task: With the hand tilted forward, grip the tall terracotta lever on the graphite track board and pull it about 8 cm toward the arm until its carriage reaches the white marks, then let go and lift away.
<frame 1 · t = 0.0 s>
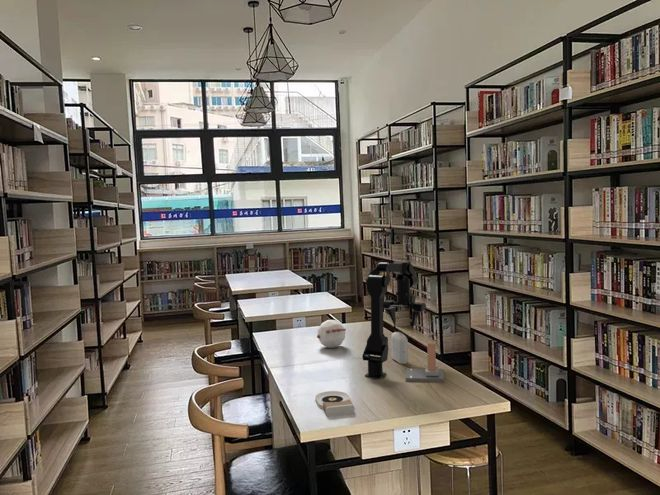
hand: (404, 324, 234), 15 cm above the table, tool pointing down, fingers open, 9 cm apart
white piece: (330, 347, 258), on the table
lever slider: (431, 357, 207), point 8 cm above the table, slide at 0.0 cm
track board: (424, 376, 208), on the table
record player: (334, 405, 182), on the table
photo printer: (399, 361, 231), on the table
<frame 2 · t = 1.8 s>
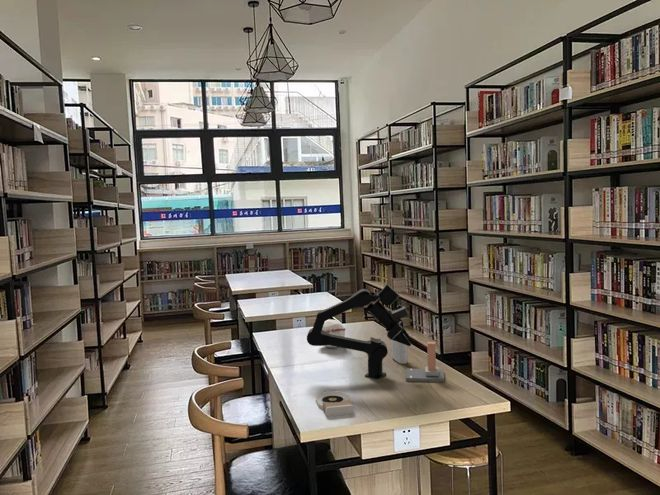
hand: (410, 342, 209), 13 cm above the table, tool tilted 45°, fingers open, 9 cm apart
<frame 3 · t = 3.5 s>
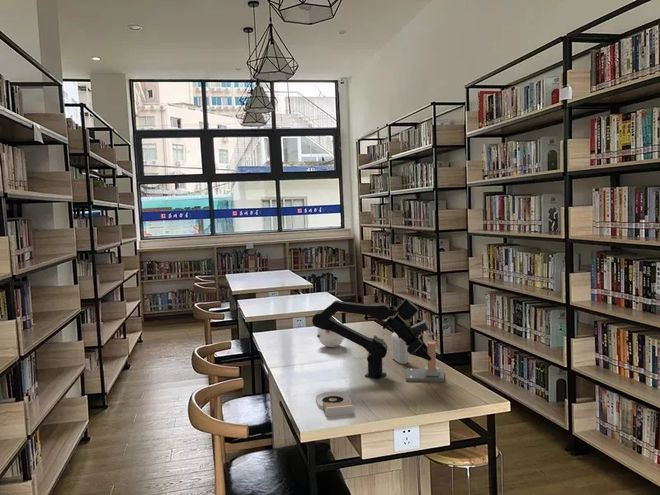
hand: (430, 356, 207), 8 cm above the table, tool tilted 45°, fingers open, 9 cm apart
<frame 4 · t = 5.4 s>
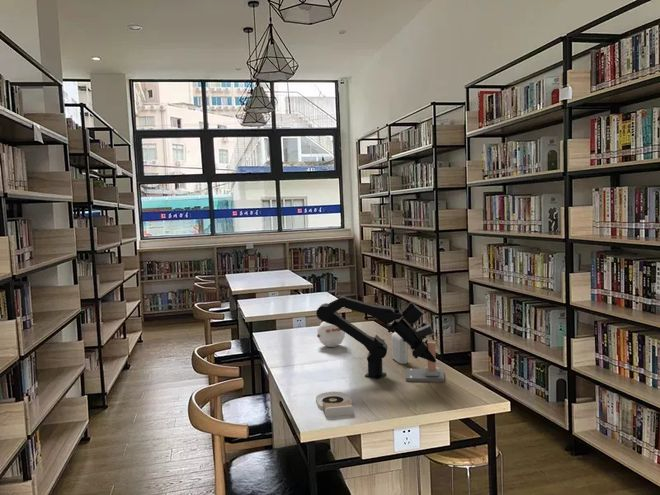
hand: (435, 360, 207), 7 cm above the table, tool tilted 45°, fingers closed on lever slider, 3 cm apart
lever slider: (431, 357, 207), point 8 cm above the table, slide at 0.0 cm, touching gripper
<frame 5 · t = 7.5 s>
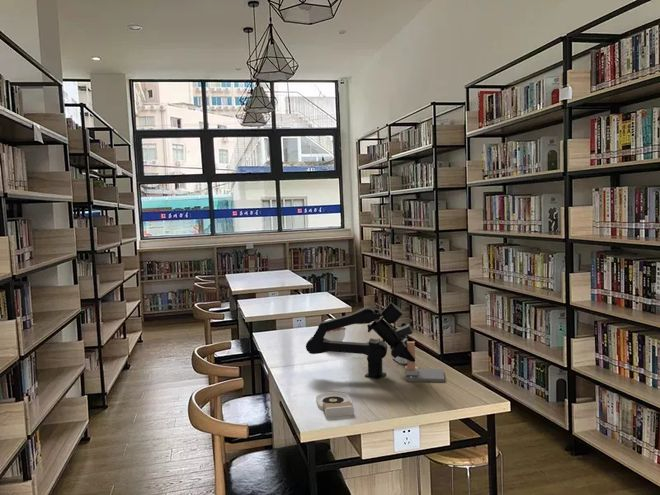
hand: (414, 359, 208), 7 cm above the table, tool tilted 45°, fingers closed on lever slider, 3 cm apart
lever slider: (411, 357, 209), point 8 cm above the table, slide at 7.9 cm, touching gripper
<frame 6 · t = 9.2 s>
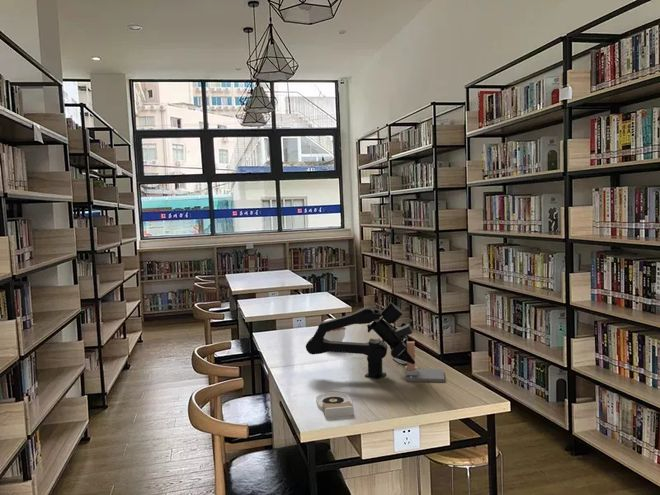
hand: (414, 359, 208), 7 cm above the table, tool tilted 45°, fingers open, 9 cm apart
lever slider: (410, 357, 209), point 8 cm above the table, slide at 8.0 cm
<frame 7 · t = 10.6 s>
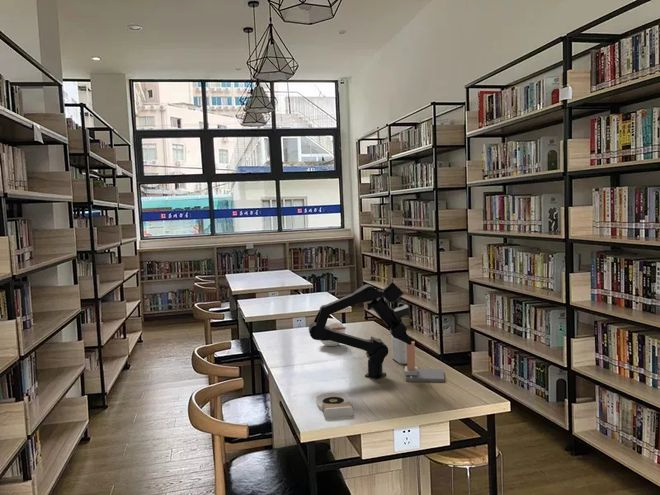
hand: (408, 340, 211), 14 cm above the table, tool tilted 40°, fingers open, 9 cm apart
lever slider: (410, 357, 209), point 7 cm above the table, slide at 8.0 cm, touching gripper
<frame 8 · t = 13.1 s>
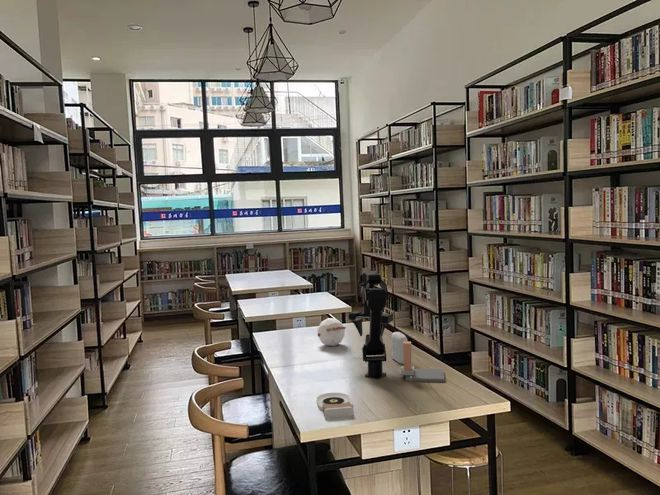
hand: (370, 337, 225), 12 cm above the table, tool pointing down, fingers open, 9 cm apart
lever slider: (407, 357, 209), point 8 cm above the table, slide at 9.3 cm
at the end: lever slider slide at 9.3 cm; the gripper is holding nothing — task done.
